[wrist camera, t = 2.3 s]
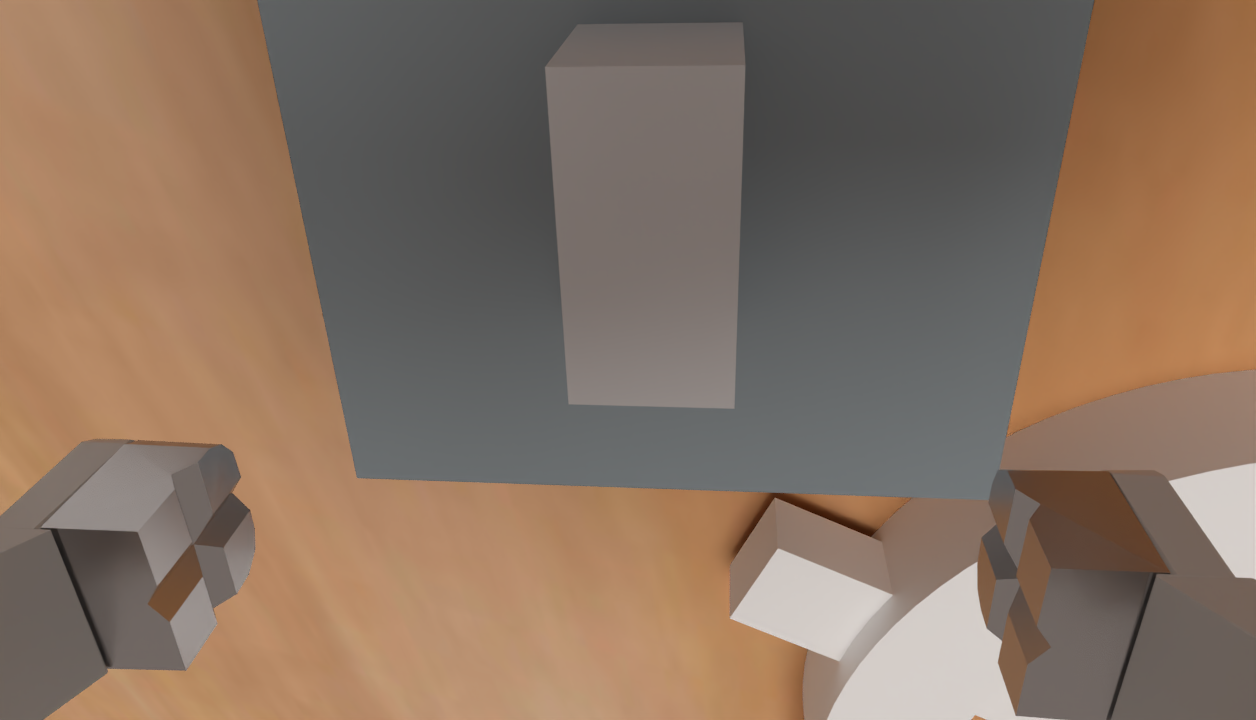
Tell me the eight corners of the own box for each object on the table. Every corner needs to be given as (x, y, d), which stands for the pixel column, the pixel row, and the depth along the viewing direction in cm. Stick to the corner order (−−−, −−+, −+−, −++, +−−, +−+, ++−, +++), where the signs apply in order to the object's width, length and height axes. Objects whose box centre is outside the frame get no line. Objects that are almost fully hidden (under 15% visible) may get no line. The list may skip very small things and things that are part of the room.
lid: (251, -249, 17) (77, -275, 13) (1112, -285, 16) (1268, -329, 11) (380, 436, 25) (300, 577, 20) (975, 454, 23) (1036, 610, 19)
